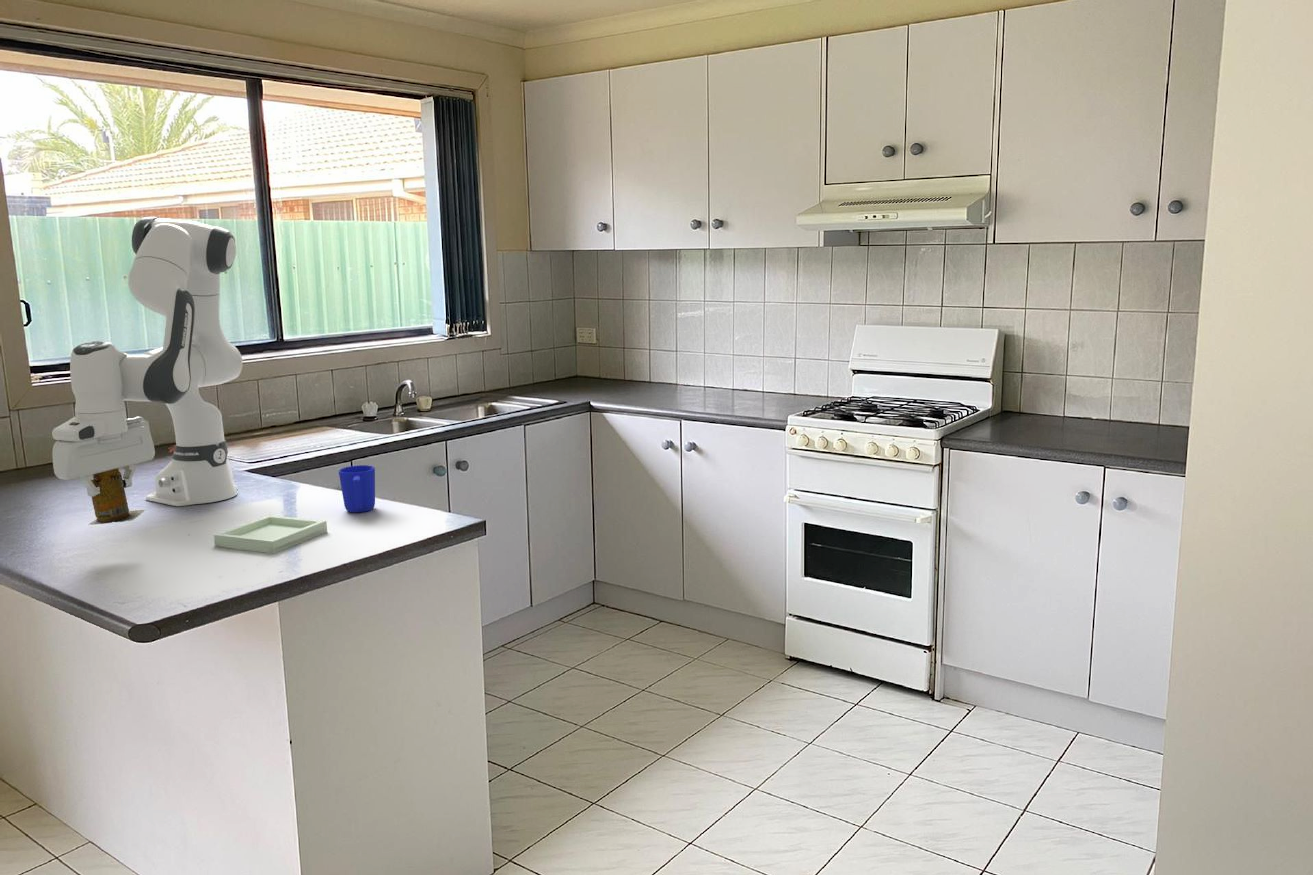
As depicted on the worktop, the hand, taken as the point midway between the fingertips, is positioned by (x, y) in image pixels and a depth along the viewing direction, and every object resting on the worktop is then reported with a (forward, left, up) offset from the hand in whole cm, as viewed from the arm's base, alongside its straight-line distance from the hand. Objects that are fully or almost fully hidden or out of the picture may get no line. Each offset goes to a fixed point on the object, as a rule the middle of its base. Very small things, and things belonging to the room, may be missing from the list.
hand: (110, 491), depth 201 cm
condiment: (0, +1, -6) cm, 6 cm away
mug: (+25, +44, -14) cm, 53 cm away
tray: (+21, +20, -14) cm, 32 cm away
